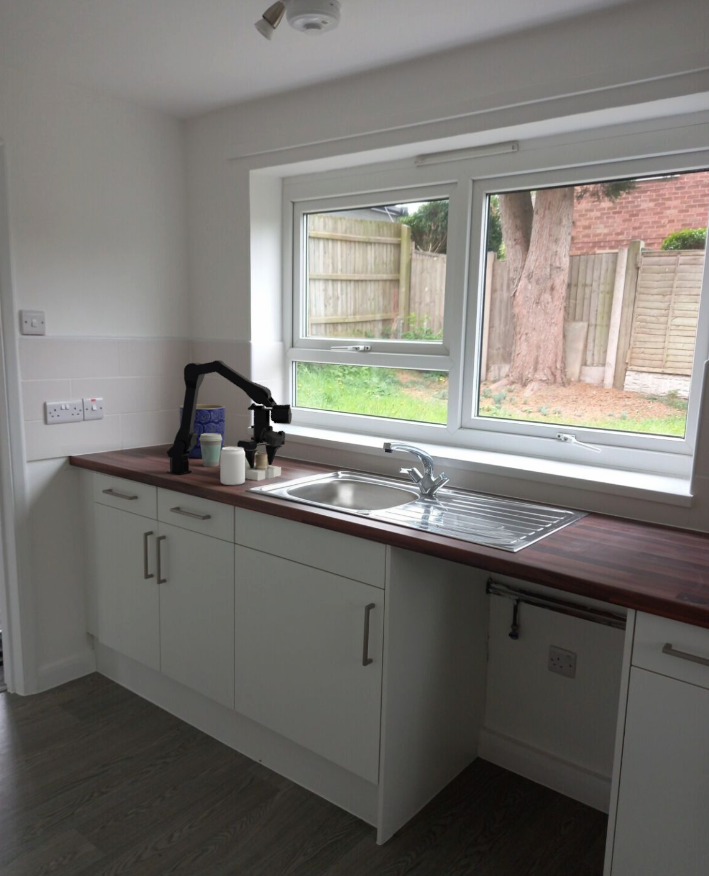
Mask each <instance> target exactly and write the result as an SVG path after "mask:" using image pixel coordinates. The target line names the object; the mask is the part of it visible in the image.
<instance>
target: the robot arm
mask: <svg viewBox="0 0 709 876" xmlns="http://www.w3.org/2000/svg"><path fill="white" fill-rule="evenodd" d="M212 373H217V374H218V375H220V376H222V377H223V378H224V379H226V380H227V381H229V382H230V383H232V384H233V385H235V386H236V387H238V388H239V389H241V390H242V391H243V392H244V393H245V395H247V396H248V397H249V399H251V401H253V402H252V403H251V405H249V407H247V410H248V411H253V424H252V425H250V429H252V431H253V435H252V436H251V437H250V439H239V440H238V441H237V443H236V444H237V445H236V447H242V448H244V449H243V450H244V451H245V457H246V459H247V461H248V463H249V465H250V468H252V469H253V468H254V463H255V459H256V455H255V453H256V452H257V453H258V449H257V448H258V447H259V446H264V447H265V454H267V465H271V466H273V465H272V464H273V461H274V459H275V456H276V453H277V451H278V450H279V449H280V448H282V447H283V445H285V441H286V432H285V430H279V431H274V427H273V425H271V421H272V422H273V423H274V424H279V425H280V424H282V425H283V424H284V425H290V424H291V423H292V417H293V416H292V415H293V413H292V408H291V404H288V403H287V404H278V403H277V402H276V401H275V399H274V398H273V396H272V391H271V389H270V388H269V387H266V386H265V385H263V384H261V383H257V382H254V381H252V380H250V379H248V378H247V377H246V376H244V375H242V374H241V373H239V372H238V371H236V370H235V369H234V368H233V367H231V366H229V365H227V364H226V363H225V362H223V360H221V359H220V360H219V359H218V360H217V359H216V360H213V361H210V362H204V363H201V362H189V363H188V364H186V365H185V366H184V368H183V381H184V385H185V392H184V398H183V399H184V400H183V404H182V405H183V412H182V419H181V426H180V428H179V427H178V431H177V433H176V435H175V437H174V441H173V445H172V446H171V447H170V448H169V449H168V450H167V451H166V454H167V456H168V458H169V470H166V473H167V474H168V473H169V474H171V475H172V474H174V475H184V474H189V473H192V470H190V464H189V463H190V461H189V456H187V454H189V453H190V450H191V449H193V448H194V446H195V444H197V436H198V433H194V429H193V425H194V418H195V411H196V404H198V403H197V402H198V396H199V390H200V388H201V385H202V383H203V381H204V379H205V375H207V374H212Z"/></svg>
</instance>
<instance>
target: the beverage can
mask: <svg viewBox="0 0 709 876" xmlns="http://www.w3.org/2000/svg"><path fill="white" fill-rule="evenodd" d="M243 449H244V448H242V447H237V446H225V447H223V448H222V451H221V453H220V458H219V465H220V469H219V470H220V479H219V480H220V483H221V484H223V485H226V486H240V485H243V484H245V482H246V478H245V451H244V450H243Z"/></svg>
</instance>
